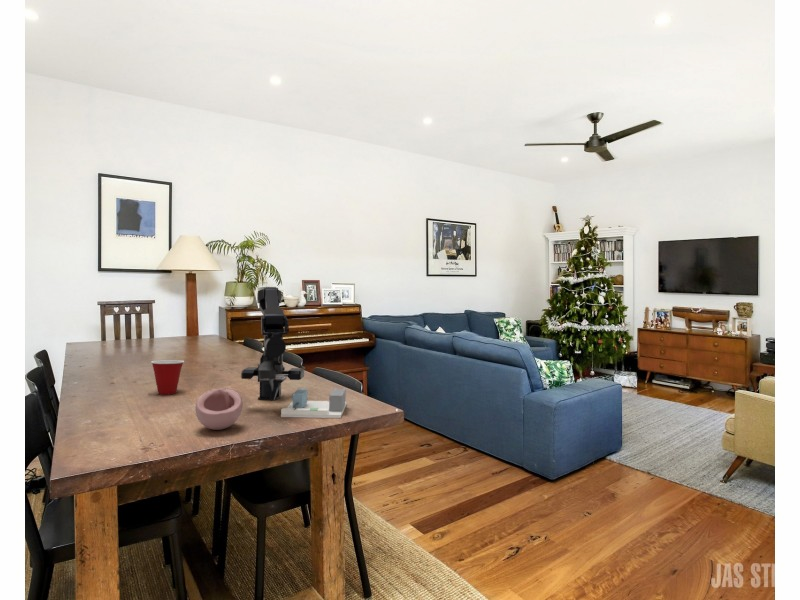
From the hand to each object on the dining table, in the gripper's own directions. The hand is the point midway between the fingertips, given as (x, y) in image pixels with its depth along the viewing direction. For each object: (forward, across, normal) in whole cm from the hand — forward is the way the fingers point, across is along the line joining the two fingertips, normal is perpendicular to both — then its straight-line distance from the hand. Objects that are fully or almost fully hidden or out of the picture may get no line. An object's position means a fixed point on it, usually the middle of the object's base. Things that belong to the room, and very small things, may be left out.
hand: (272, 400), depth 145 cm
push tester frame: (+3, +14, 0) cm, 14 cm away
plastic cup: (+3, -43, +19) cm, 47 cm away
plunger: (+2, +9, -2) cm, 9 cm away
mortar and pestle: (+3, -9, -20) cm, 22 cm away
